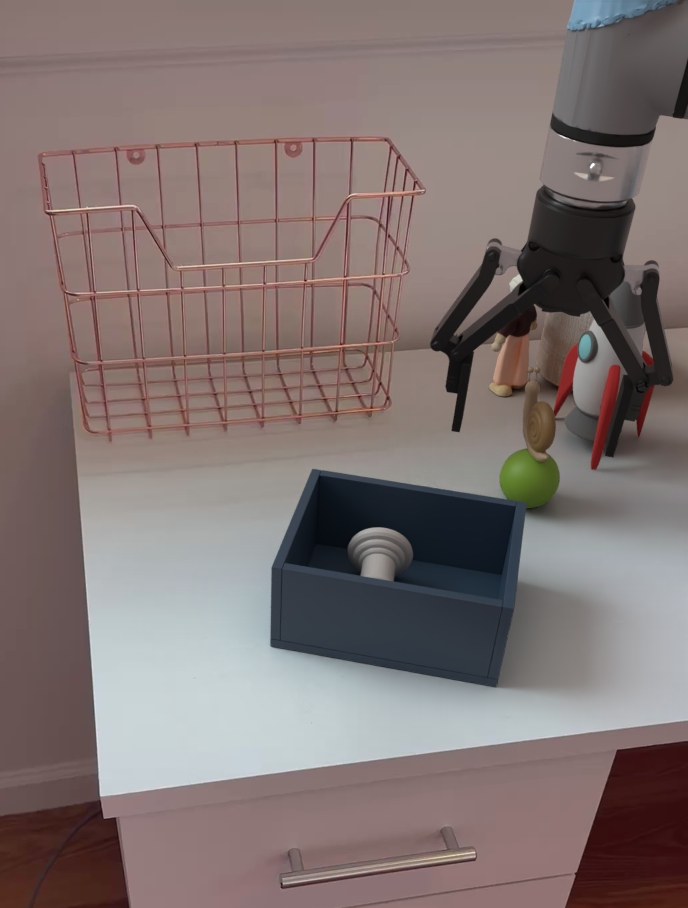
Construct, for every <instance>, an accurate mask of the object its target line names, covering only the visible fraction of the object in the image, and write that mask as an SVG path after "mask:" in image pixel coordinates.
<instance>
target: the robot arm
mask: <svg viewBox="0 0 688 908" xmlns="http://www.w3.org/2000/svg"><path fill="white" fill-rule="evenodd" d="M571 8H572V9H571V12H570V16H569V20H568V22H567V25H566V34H565V39H564V44H563V45H564V46H563V50H562V55H561V56H562V57H561V61H560V67H559V71H558V72H559V73H558V79H557V84H556V90H555V94H554V95H555V96H554V100H553V106H552V113H551V118H550V122H549V124H548V125H549V126H548V132H547V135H546V140H545V147H544V152H543V158H542V163H541V167H540V174H539V180H540V182H541V184H542V185H541V186H540V188H538V189H537V190H536V192H535V198H534V204H533V208H532V214H531V218H530V219H531V220H530V224H529V229H528V235H527V239H526V242H525V244H524V246H523V247H522V248H521V249H517V248H514V247H511V246H505V245H503V243H502V241H501V240H500V239H499V238H494V237H493V238H491V239H490V240H488V242H487V244H486V248H485V251H484V254H483V255H484V256H483V258H482V263H481V264H480V265H479V267H478V268H477V270H476V271H475V273H474V274H473V276H472V277H471V278H470V280H469V281H468V282H467V284H466V285H465V286H464V288H463V289H462V291H461V292H460V293H459V294H458V296H457V297H456V299H455V300H454V302H453V303H452V305H451V306H450V307H449V309H448V310H447V311H446V313H445V314H444V315H443V317H442V318H441V319H440V321H439V323H438V324H437V325H436V326H435V328H434V330H433V332H432V336H431V340H430V343H429V347H430V349H431V350H432V351H434V352H441V353H443V354H444V355H446V356H447V358H448V366H447V373H446V379H445V386H444V387H445V390H446V393H450V394H455V395H456V400H455V405H454V406H455V407H454V413H453V418H452V424H451V432H454V433H460V432H461V428H462V424H463V419H464V415H465V414H464V413H465V407H466V403H467V396H468V391H469V386H470V385H469V384H470V379H471V373H472V367H473V360H474V355H475V350H477V349H478V348H479V347H480V346H482V345H483V344H484V343H485V342H486V341H488V340H489V339H490V338H492V337H493V336H494V335H495V334H497V332H498V331H499V330H500V329H501V328H503V327H504V326H505V325H506V324H508V323H509V322H510V321H511V320H513V319H514V318H515V317H516V316H518V315H521V314H523V313H524V312H526V311H527V310H528V309H529V308H531V307H532V306H533V305H534V306H535V307H537V308H539V309H541V312H542V313H547V312H549V313H553V312H563V313H565V314H568V315H570V316H576V317H580V315H581V314H585V313H588V312H591V314H592V316H593V318H594V319H595V321H596V323H597V324H598V326H599V327H601V329H602V331H603V332H604V334H605V336H606V338H607V339H608V341H609V343H610V345H611V346H612V348H613V350H614V351H615V353H616V355H617V357H618V358H619V360H620V362H621V364H622V365H623V367H624V369H625V371H626V372H627V374H628V375H623V378H622V382H621V385H620V389H619V393H618V396H617V400H616V403H615V407H614V410H613V414H612V418H611V421H610V425H609V428H608V432H607V435H606V439H605V445H604V457H608V458H615V457H614V456H615V455H616V454H615V453H616V450H617V446H618V443H619V440H620V436H621V433H622V431H621V430H623V426H624V422H625V421H627V422H635V423H636V419H637V418H638V416H639V413H640V410H641V406H642V403H643V400H644V396H645V393H647V392H648V390H649V387H651V386H654V385H655V386H661V387H669V386H671V385H672V384H673V383H674V371H673V370H674V369H673V361H672V358H671V353H670V348H669V344H668V339H667V334H666V331H665V326H664V322H663V321H664V320H663V318H662V317H663V316H662V313H661V308H660V304H659V303H660V302H659V299H658V291H659V287H660V286H659V285H660V281H661V280H660V277H661V276H660V266H659V263H658V261H656V260H653V259H651V260H648V261H646V262H645V263H644V264H643V265H642V264H641V265H640V264H625V262H624V254H625V252H626V251H625V250H626V247H627V243H628V240H629V239H628V238H629V235H630V231H631V227H632V223H633V219H634V215H635V212H636V208H637V207H636V203H635V201H634V199H633V198H635V197H637V196H638V195H639V194H640V191H641V188H642V183H643V179H644V176H645V172H646V167H647V164H648V161H649V156H650V151H651V147H652V144H653V140H654V137H655V133H656V130H657V124H658V122H659V119H660V116H664V117H670V118H671V117H672V119H673V118H674V119H678V120H679V119H680V120H688V0H573V4H572V7H571ZM511 267H516V270H517V272H518V274H520V276H521V278H522V280H523V281H522V282H521V283H519V284H518V285H517V286H516V287H515V288H514V289H513V291H512V292H510V293H508V294H507V295H505V297H504V298H502V299H501V300H500V301H498V302H497V303H496V304H495V305H494V306H492V307H491V308H490V309H488V311H486V312H485V313H484V314H482V315H481V317H479V318H477V319H476V320H475V321H474V322H473V323H472V324H471V325H469V326H468V327H467V328H465V330H463V331H462V332H461V333H459V334H457V333H456V332H457V331H458V330H459V328H460V327H461V325H462V324H463V323H464V322H465V320H466V319H467V317H468V316H469V314H470V313H471V312H472V311H473V309H474V308H475V306H477V304H478V302H479V301H480V299H481V298H482V297H483V295H484V294H485V293H486V291H487V290H488V289H489V287H490V286H491V284H492V282H493V280H494V278H495V276H503V275H504V274H505V273H506V272H507V271H508V269H509V268H511ZM622 282H627V283H629V284H630V286H631V291H632V293H633V294H635V295H640V296H641V309H642V314H643V318H644V322H645V327H646V335H647V339H648V344H649V349H650V352H651V357H652V359H653V361H654V364H653V365H646V363H645V361H644V359H643V357H642V356H641V354H640V352H639V350H638V349H637V347H636V345H635V343H634V341H633V340H632V338H631V336H630V334H629V332H628V331H627V329H626V327H625V325H624V323H623V322H622V320H621V318H620V316H619V315H618V313H617V311H616V309H615V307H614V305H613V302H612V300H611V298H610V296H609V295H610V294H611V293H612V292H613V291H614V290H615V289H616V288H618V287H619V286H620V285H621V284H622ZM455 333H456V334H455ZM655 386H654V387H655Z"/></svg>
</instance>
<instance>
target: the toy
mask: <svg viewBox="0 0 688 908" xmlns="http://www.w3.org/2000/svg"><path fill="white" fill-rule="evenodd" d="M610 298H611V300H612V302H613V305H614V307H615V309H616V311H617V313H618V315H619V316H620V318H621V320H622V322H623V323H624V325H625V327H626V329H627V331H628V332H629V334H630V336H631V338H632V340H633V341H634V343H635V345H636V347H637V349H638V350H639V352H640V354H641V356H642V357H643V359H644V361H645V363H646V365H653V364H654V361H653V357H652V355H650V354H649V353H648V352H647V351H645V350H644V340H643V339H645V336H644V318H643V314H642V309H641V298H640V295H635V294H633V293H632V291H631V286H630V284H629V283H627V282H622V284H621V285H620V286H619V287H618V288H616V289H615V290H614V291H613V292H612V293H611V295H610ZM623 375H628V374H627V372H626V371H625V369H624V367H623V365H622V364H621V362H620V360H619V358H618V357H617V355H616V353H615V351H614V350H613V348H612V346H611V345H610V343H609V341H608V339H607V338H606V336H605V334H604V332H603V331H602V329H601V327H599V326H598V324H597V323H596V321H595V319H594V320H593V322H592V324H591V326H590V329H589V331H585V332H584V333H583V334H582V335H581V337H580V339H579V342H578V343H577V344H575V345H574V346H573V347H572V348H571V349H570V351H569V352H568V354H567V356H566V359H565V362H564V367H563V371H562V376H561V380H560V385H559V388H558V389H557V395H556V399H555V404H554V407H553V411H554V415H555V418H556V416H557V415H558V414H559V412H560V411H561V408H562V407H563V405H564V404H565V402H566V400H567V399H568V397H569V396H570V394H571V393H572V392H571V391H572V390H573V393H572V395H573V400H574V402H573V403H574V407H573V409H572V410H571V411H570V412H569V413H568V414H567V416H566V417H565V418H564V425H565V427H566V429H567V430H568V431H569V432H571V433H572V434H573V435H575V436H577V437H579V438H581V439H585V440H588V441H593V446H592V451H591V458H590V469H591V470H592V471H596V470H597V468H598V466H599V465H600V462H601V459H602V456H603V453H604V450H605V439H606V435H607V432H608V428H609V425H610V421H611V418H612V414H613V410H614V407H615V403H616V400H617V396H618V393H619V389H620V385H621V382H622V378H623ZM655 386H656V385H654V386H651V387H649V390H648V392H647V393H645V396H644V400H643V403H642V406H641V410H640V413H639V416H638V418H637V419H636V420H635V423H636V424H635V425H636V436H637V438H638V439H640V437H641V434H642V431H643V427H644V425H645V421H646V417H647V413H648V409H649V407H650V403H651V400H652V396H653V393H654V389H655ZM622 430H623V429H622ZM622 430H621V432H622Z"/></svg>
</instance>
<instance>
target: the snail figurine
mask: <svg viewBox="0 0 688 908" xmlns="http://www.w3.org/2000/svg"><path fill="white" fill-rule="evenodd" d="M540 371H541V369H540V367H536V366H535V368H534V367H528V378H527V383H526V384H525V387H524V388H525V389H524V391H525V397H524V401H523V407H522V434H523V439H524V441H525V446H526V448H522V449H518V450H516V451H515V452H513V453H511V454H510V455H509V456H508V457H507V458H506V459H505V461H504V462H503V464H502V466H501V469H500V471H499V478H498V479H499V486H500V489H501V492H502V494H503V495H504V497H505V499H508V500H514V501H520V502H526V503H527V504H526V509H533V508H539V507H542V506H543V505H545V504H546V503H548V502H549V501H550V500H551V499H552V498H553V497H554V496H555V494H556V493H557V491H558V489H559V486H560V483H561V474H560V473H561V472H560V468H559V466H558V464H557V462H556V460H555V459H554V457H553V456H551V454H549V453H548V452H547V450H549V449H550V448H551V447H552V444H553V442H554V440H555V436H556V431H557V429H556V428H557V422H556V417H555V415H554V408H553V407H552V405H551V404H549V403H548V402H546V401H543V400H540V401H538V399H539V397H538V396H539V394H540V391H541V385H540V383H539V382H538V381H537V377H538V374H540V373H539V372H540ZM533 373H535V378H534V379H532V380H530V377H531V374H533Z"/></svg>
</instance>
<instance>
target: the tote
mask: <svg viewBox="0 0 688 908" xmlns="http://www.w3.org/2000/svg"><path fill="white" fill-rule="evenodd" d="M526 504H527V503H526V502H520V501H514V500H508V499H507V498H501V497H495V496H489V495H483V494H482V495H481V494H477V493H476V494H475V493H469V492H463V491H456V490H452V489H446V488H445V489H444V488H439V487H431V486H424V485H421V484H419V485H418V484H412V483H407V482H400V481H393V480H388V479H381V478H374V477H368V476H363V475H356V474H349V473H343V472H337V471H331V470H324V469H317V468H312V469H311V471H310V473H309V475H308V477H307V480H306V483H305V485H304V488H303V490H302V492H301V495H300V497H299V500H298V502H297V504H296V507H295V509H294V512H293V514H292V515H291V516H292V517H291V519H290V521H289V524H288V526H287V528H286V531H285V534H284V535H283V538H282V541H281V543H280V546H279V548H278V550H277V553H276V555H275V558H274V560H273V562H272V566H271V571H270V572H271V573H270V574H271V575H270V582H271V583H270V630H269V631H270V635H269V637H270V639H269V643H270V644H269V646H270V647H273V648H279V649H283V650H289V651H295V652H300V653H306V654H311V655H317V656H323V657H329V658H334V659H339V660H345V661H350V662H356V663H360V664H361V663H362V664H367V665H372V666H378V667H384V668H388V669H393V670H394V669H395V670H400V671H405V672H406V671H407V672H411V673H417V674H421V675H427V676H433V677H439V678H445V679H450V680H455V681H462V682H466V683H472V684H477V685H481V686H487V687H488V686H489V687H496V688H497V686H498V682H499V677H500V674H501V670H502V665H503V660H504V656H505V651H506V646H507V642H508V638H509V634H510V633H509V632H510V630H511V629H510V628H511V624H512V620H513V616H514V611H515V606H516V605H515V604H516V595H517V590H518V589H517V587H518V580H519V571H520V570H519V569H520V564H521V563H520V562H521V554H522V545H523V536H524V528H525V519H526V513H527V512H526V511H527V508H526ZM375 527H381V528H388V529H391V530H394V531H396V532H398V533H400V534H402V535H403V536H404V537H405V538H406V539H407V540H408V541H409V543H410V545H411V547H412V551H413V559H412V562H411V564H410V566H409V567H408V569H407V570H406V571H405V572H403V573H402V574H400V575H398V576H395V577H394V581H388V580H382V579H376V578H370V577H364V576H361V573H360V572H359V571H358V570H356V569H355V568H354V567H353V566H352V564H351V563H350V561H349V558H348V553H347V549H348V545H349V543H350V541H351V540H352V538H353V537H354V536H355V535H356V534H357V533H359V532H360V531H363V530H365V529H369V528H375Z"/></svg>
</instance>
